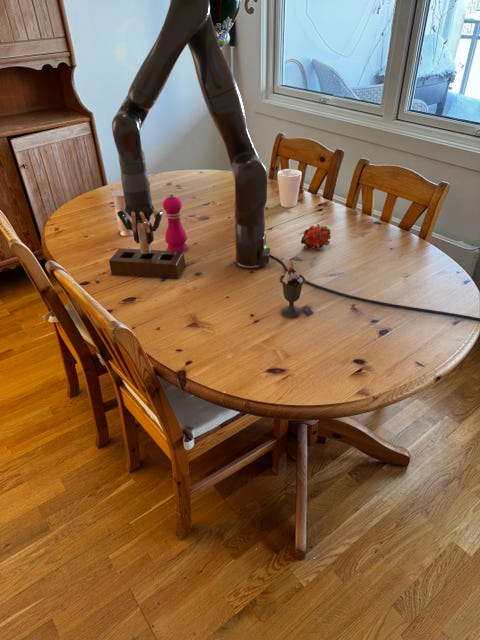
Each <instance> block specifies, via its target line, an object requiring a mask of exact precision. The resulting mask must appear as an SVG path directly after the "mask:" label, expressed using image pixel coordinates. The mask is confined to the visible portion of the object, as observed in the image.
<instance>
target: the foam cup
mask: <svg viewBox="0 0 480 640" xmlns="http://www.w3.org/2000/svg"><path fill="white" fill-rule="evenodd" d="M302 175H303V174H302V171H301V170H299V169H293V168H284V169H280V170H279V171H277V181H278V192H279V202H280V206H281V207H283V208H294V207H296V206H297V201H298V197H299V191H300V186H301V181H302Z"/></svg>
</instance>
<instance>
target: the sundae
mask: <svg viewBox="0 0 480 640" xmlns="http://www.w3.org/2000/svg"><path fill="white" fill-rule="evenodd" d="M289 262H290V267H288V270H289V271H288V272H285V273H284V274H282V275H280V277H279V283H280V284H282V291H283V297H284V299H285V300H286V301H287V302H288V306H286V307H284V308H283V309H282V310H281V314H282V315H283V316H284V317H287V318H296V317H298V316H300V315H301V310H300V309H299V308H297V307H295V304H294V303H296V302H297V301H298V300H299V299H300V296H301V293H302V290H303V289H302V288H303V285H304V284H306V283H305V281H307V280H306V278H305V276H303V275H302V274H300V273H299V272H298V271H297V269H296V270H295V267H294V265H293V262H292V259H291V258H289Z"/></svg>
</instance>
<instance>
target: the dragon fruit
mask: <svg viewBox="0 0 480 640" xmlns="http://www.w3.org/2000/svg"><path fill="white" fill-rule="evenodd" d="M331 233H332V232H331V229H329V228H328V226H327V225H324V226H323V225H320V223H317V224H316V226H315V225H310V227H309V228H307V229H305V230H304V231H303V236H302V237H301V239H300V243H301V245H303V248H304V249H307V250H311V249H312V250H313V249H317V251H320V250H321V249H323V247H324V246H328V245H329V243H331V240H330V239H331Z"/></svg>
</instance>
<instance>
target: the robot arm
mask: <svg viewBox="0 0 480 640" xmlns="http://www.w3.org/2000/svg"><path fill="white" fill-rule="evenodd" d="M186 46H188V49H189V51H190V54H191V58H192V61H193V65H194V70H195V73H196V77H197V82H198V84H199V88H200V91H201V92H200V93H201V95H202V98H203V100H204V103H205V105H206V108H207V110H208V113H209V115H210V118H211V121H212V122H213V124H214V126H215V128H216V130H217V132H218V134H219V136H220V138H221V139H222V142H223V144H224V146H225V150H226V153H227V156H228V157H227V158H228V160H229V165H230V169H231V173H232V177H233V179H234V199H235V200H234V203H233V206H234V207H233V209H234V210H233V211H234V239H235V264H236V266H237V267H239V268H241V269H245V270H246V269H247V270H254V269H260V268H264V267H265V264H269V263H270V259H271V260H274V261H275V262H277V263H279V264H280V266H281V267H282V268H283V270H284V271H285V273H287V272H288V271H289V268H288V267H287V266H286V264H285V263H284V262H283V261H282V260H281V259H279V258H277V257H276V256H274V255H272V254H271V248H270V247H267V232H266V205H267V201H268V172H267V168H266V166H265V165H264V163H263V161H262V160H261V158H260V157H259V155H258V153H257V151H256V149H255V147H254V143H253V142H252V139H251V137H250V134H249V130H248V125H247V118H246V112H245V108H244V104H243V99H242V96H241V94H240V93H241V92H240V90H239V87H238V84H237V82H236V79H235V76H234V73H233V71H232V68H231V66H230V65H229V63H228V60H227V58H226V56H225V54H224V52H223V50H222V48H221V46H220V43H219V40H218V38H217V34H216V31H215V27H214V23H213V19H212V14H211V3H210V0H169V7H168V10H167V12H166V16H165V19H164V22H163V24H162V26H161V29H160V31H159V34H158V36H157V38H156V39H155V42H154V44H153V46H152V47H151V49H150V51H149V52H148V53H147V55H146V56H145V58H144V60H143V62H142V63H141V64H140V67H139V69H138V71H137V72H136V74H135V76H134V78H133V80H132V82H131V84H130V86H129V89H128V92H127V95H126V97H125V98H124V100H123V102H122V103H121V105H120V107H119V108H118V110H117V112H116V114H115V115H114V117H113V119H112V122H111V132H112V138H113V141H114V145H115V148H116V152H117V154H118V162H119V169H120V177H121V185H122V189H123V193H124V199H125V203H126V207H125V209H121V210H120V211H119V212H118V213H117V214H118V216H119V218H120V219H121V221H122V223H123V224H124V226H125V228H126V229H127V230H131V231H133V235H132V236H133V240H134V242H136V243H135V244H140V243H139V237H138V231H137V224H136V219H142V221H143V224H144V226H145V228H146V231H147V233H146V234H147V241H148V244H150V245H151V244H152V243H153V241H154V239H155V237H154V232H156V231H157V230H158V229H159V228H160V223H161V221H162V217H163V215H164V211H162V210H158V209H155V207H154V206H153V202H152V193H151V187H150V186H151V183H150V179H149V174H148V170H147V163H146V155H145V152H144V149H143V148H142V139H141V129H142V127H143V124H144V123H145V120H146V118H147V117H148V114H149V112H150V110H151V109H152V108H153V107H154V106H155V104H156V102H157V100H158V98H159V97H160V95H161V93H162V91H163V90H164V88H165V86H166V84H167V81H168V80H169V78H170V76H171V73H172V71H173V69H174V68H175V65H176V63H177V61H178V59H179V58H180V57H181V54H182V53H183V51H184V49H185V48H186ZM127 213H128V214H129V216H130V217H131V218H132V223H131V221H130V219H129V218H128V216H127ZM152 215H153V218H154V221H153V223H152ZM304 284H306V285H308V286H310V287H313V288H316V289H318V290H320V291H321V290H322V291H324V292H328V293H330V294H333V295H336V296H340V297H344V298H348V299H351V300H356V301H359V302H363V303H368V304H373V305H379V306H383V307H390V308H394V309H395V308H396V309H401V310H407V311H413V312H414V311H415V312H420V313H427V314H433V315H440V316H445V317H453V318H458V319H465V320H470V321H475V322H480V317H477V316H470V315H466V314H460V313H454V312H447V311H440V310H433V309H427V308H420V307H416V306H415V307H414V306H409V305H408V306H407V305H401V304H396V303H390V302H384V301H379V300H374V299H368V298H364V297H360V296H355V295H351V294H348V293H343V292H340V291H337V290H334V289H330V288H328V287H325V286H321V285H318V284H315V283H313V282H310V281H309V280H306V281H305V283H304Z"/></svg>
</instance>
